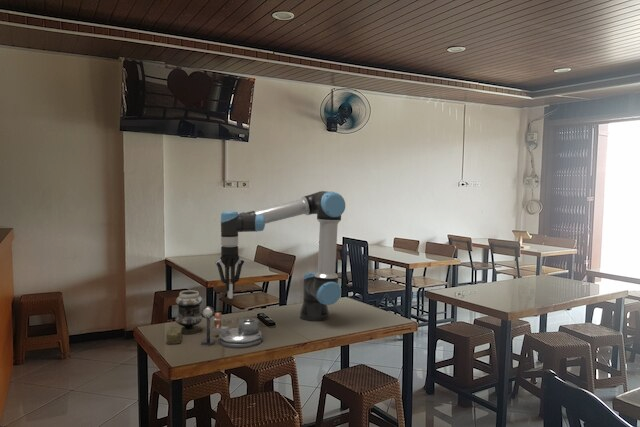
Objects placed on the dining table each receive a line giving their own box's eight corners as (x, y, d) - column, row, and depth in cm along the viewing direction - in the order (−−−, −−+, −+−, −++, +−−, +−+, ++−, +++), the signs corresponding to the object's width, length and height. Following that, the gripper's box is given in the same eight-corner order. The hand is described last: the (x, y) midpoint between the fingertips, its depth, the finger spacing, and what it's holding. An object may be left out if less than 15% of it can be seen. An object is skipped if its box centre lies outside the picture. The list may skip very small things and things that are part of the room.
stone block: (166, 345, 205) (166, 333, 204) (168, 336, 216) (168, 325, 216) (180, 344, 206) (180, 333, 206) (182, 336, 217) (182, 325, 217)
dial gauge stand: (222, 341, 210) (222, 304, 209) (219, 345, 205) (219, 307, 204) (204, 340, 210) (204, 304, 209) (200, 344, 205) (200, 307, 204)
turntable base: (265, 334, 221) (265, 330, 221) (258, 348, 202) (259, 345, 202) (223, 333, 221) (223, 329, 221) (213, 347, 202) (213, 344, 202)
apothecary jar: (203, 333, 221) (203, 294, 219) (176, 336, 216) (176, 296, 215) (200, 325, 232) (200, 288, 231) (174, 328, 228) (174, 290, 226)
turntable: (227, 326, 225) (227, 308, 225) (269, 333, 216) (269, 314, 215) (202, 337, 209) (202, 317, 208) (246, 345, 199) (246, 325, 199)
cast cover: (245, 327, 220) (245, 315, 219) (262, 330, 216) (263, 317, 215) (234, 333, 211) (234, 320, 211) (251, 336, 208) (251, 323, 207)
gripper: (240, 243, 223) (241, 294, 225) (212, 245, 217) (213, 297, 219) (246, 245, 217) (246, 297, 219) (217, 247, 211) (218, 301, 212)
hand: (230, 297), depth 219 cm, fingers closed
